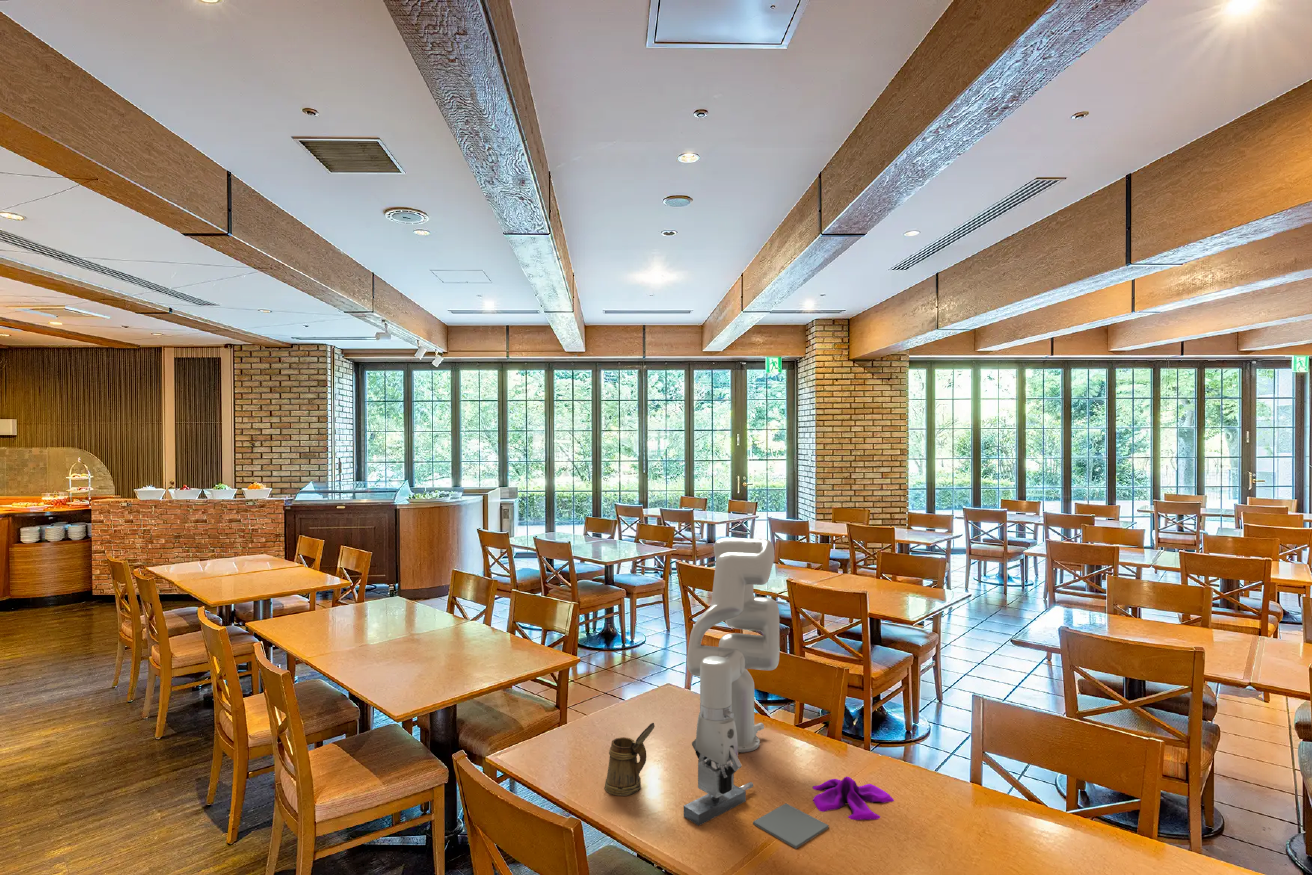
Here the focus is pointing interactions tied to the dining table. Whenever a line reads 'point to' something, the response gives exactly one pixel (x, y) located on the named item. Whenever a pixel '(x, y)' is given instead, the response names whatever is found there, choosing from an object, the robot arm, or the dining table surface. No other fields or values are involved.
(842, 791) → the cloth
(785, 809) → the slate pad
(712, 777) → the steel collar
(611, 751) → the wooden mug
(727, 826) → the dining table surface
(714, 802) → the block
